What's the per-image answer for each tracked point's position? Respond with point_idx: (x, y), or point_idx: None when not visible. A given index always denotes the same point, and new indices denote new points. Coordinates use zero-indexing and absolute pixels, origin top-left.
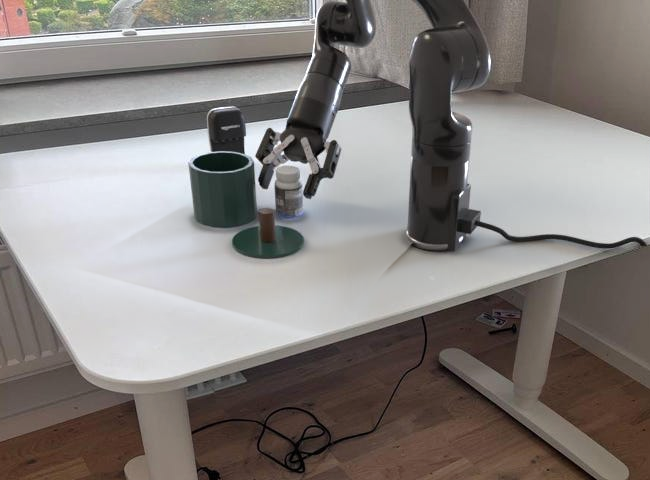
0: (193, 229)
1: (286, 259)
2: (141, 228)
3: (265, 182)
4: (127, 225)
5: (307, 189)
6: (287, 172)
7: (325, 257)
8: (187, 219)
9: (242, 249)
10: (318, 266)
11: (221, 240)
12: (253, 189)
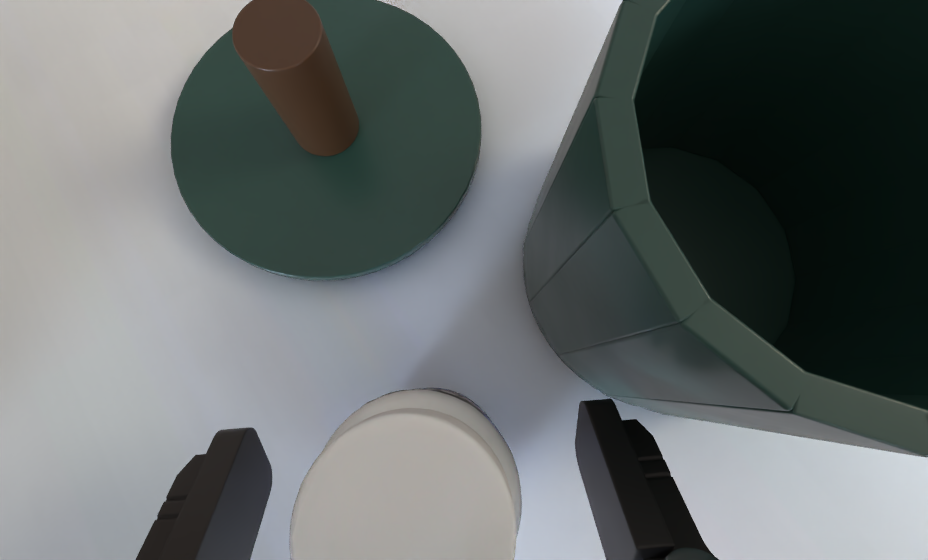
0: None
1: None
2: None
3: (588, 444)
4: None
5: (207, 452)
6: (366, 467)
7: (73, 176)
8: None
9: (366, 7)
10: (68, 101)
11: (528, 89)
12: (561, 273)
